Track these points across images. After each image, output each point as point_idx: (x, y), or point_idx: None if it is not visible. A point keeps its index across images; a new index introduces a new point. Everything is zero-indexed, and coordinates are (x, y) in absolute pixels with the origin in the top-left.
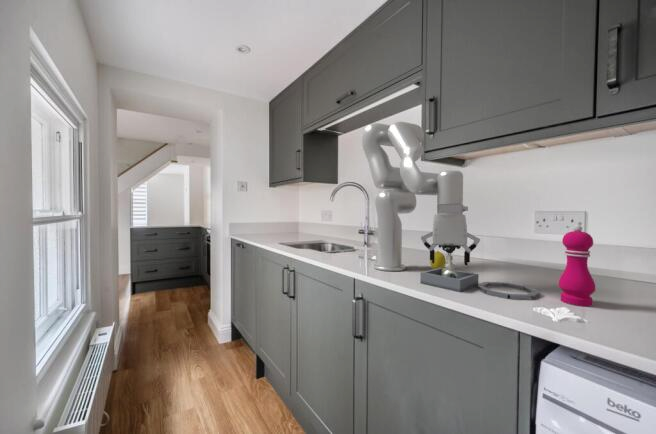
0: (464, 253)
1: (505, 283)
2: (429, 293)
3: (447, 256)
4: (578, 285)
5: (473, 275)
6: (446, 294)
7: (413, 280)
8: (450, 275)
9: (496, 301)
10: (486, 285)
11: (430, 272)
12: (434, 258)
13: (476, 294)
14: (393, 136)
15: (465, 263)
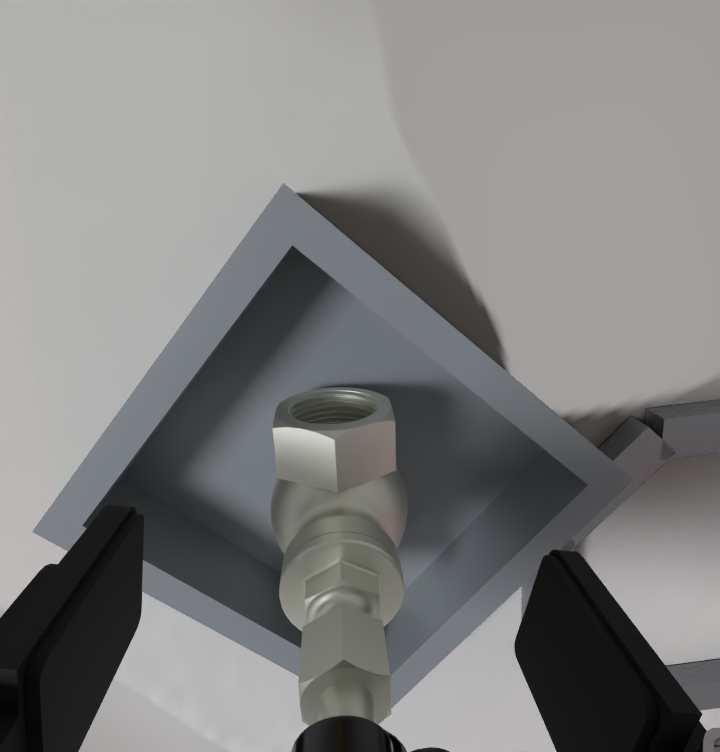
0: (616, 722)
1: None
2: (168, 700)
3: (308, 722)
4: None
5: (558, 544)
6: (274, 695)
7: (15, 378)
8: (370, 406)
9: (523, 743)
10: (616, 497)
11: (148, 437)
12: (123, 543)
13: (463, 656)
14: None
15: (526, 667)
